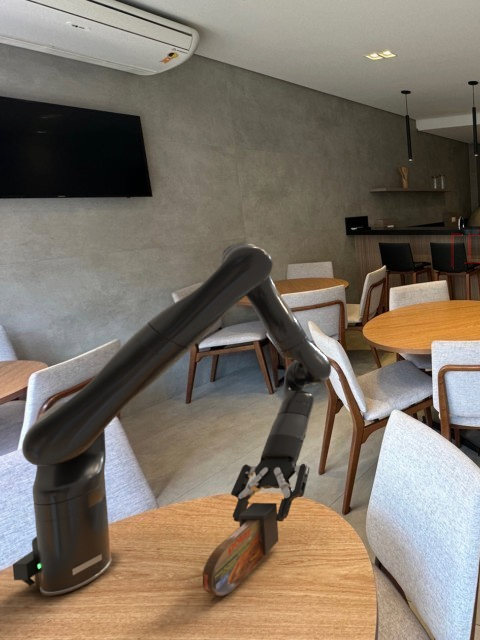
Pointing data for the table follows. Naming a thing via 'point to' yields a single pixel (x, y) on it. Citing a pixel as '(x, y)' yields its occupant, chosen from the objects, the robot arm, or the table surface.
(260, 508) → the dark grey stool
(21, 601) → the table surface
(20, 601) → the table surface
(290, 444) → the robot arm
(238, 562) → the tin
